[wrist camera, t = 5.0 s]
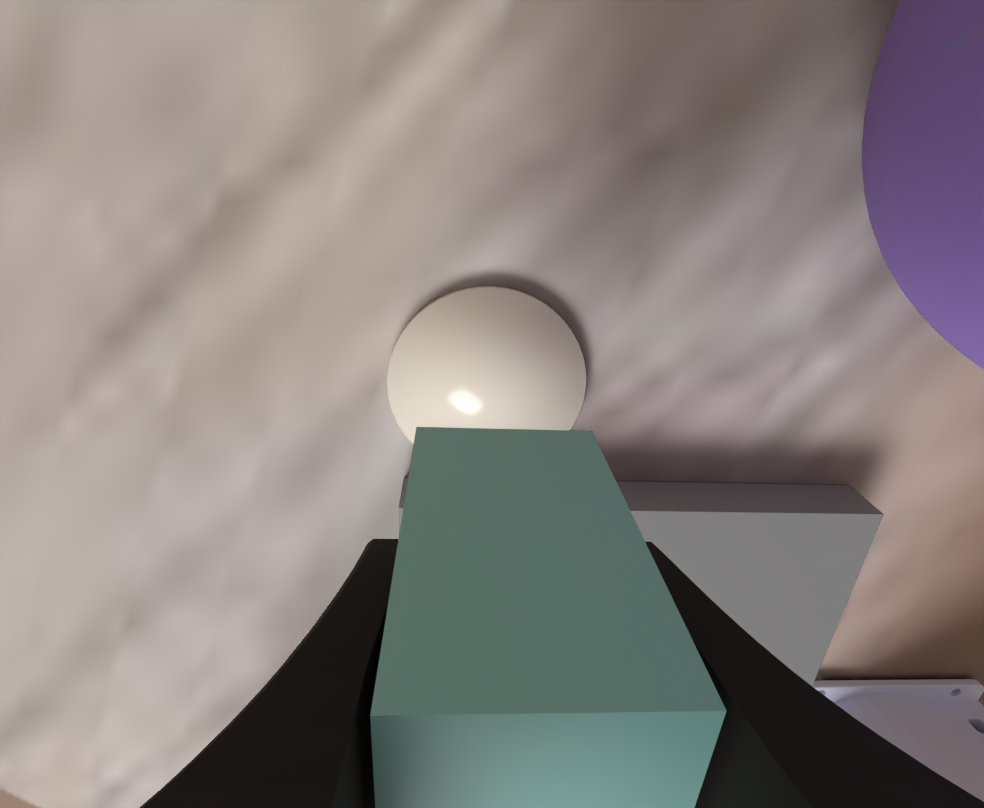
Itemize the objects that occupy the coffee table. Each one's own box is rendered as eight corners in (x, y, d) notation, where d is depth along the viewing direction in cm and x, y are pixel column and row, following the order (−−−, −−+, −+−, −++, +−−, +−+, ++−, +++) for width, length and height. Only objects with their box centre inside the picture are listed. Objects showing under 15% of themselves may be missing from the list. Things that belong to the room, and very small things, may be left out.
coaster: (596, 290, 19) (598, 292, 18) (572, 469, 21) (574, 474, 21) (386, 281, 18) (384, 283, 18) (390, 465, 21) (389, 471, 21)
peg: (592, 430, 13) (726, 711, 6) (572, 568, 14) (663, 902, 8) (416, 426, 12) (369, 715, 6) (416, 567, 14) (380, 913, 8)
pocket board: (849, 485, 22) (883, 514, 21) (782, 661, 26) (806, 699, 25) (404, 477, 21) (398, 507, 19) (406, 664, 25) (402, 703, 23)
